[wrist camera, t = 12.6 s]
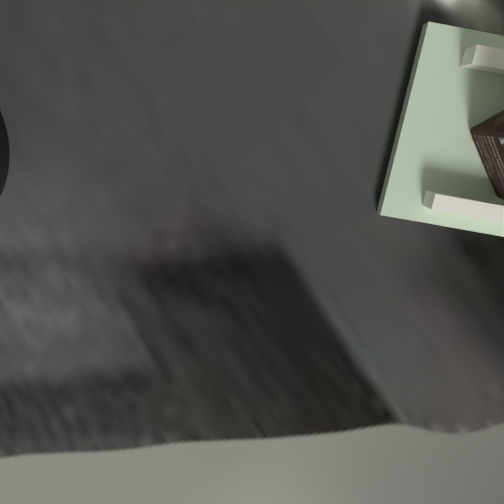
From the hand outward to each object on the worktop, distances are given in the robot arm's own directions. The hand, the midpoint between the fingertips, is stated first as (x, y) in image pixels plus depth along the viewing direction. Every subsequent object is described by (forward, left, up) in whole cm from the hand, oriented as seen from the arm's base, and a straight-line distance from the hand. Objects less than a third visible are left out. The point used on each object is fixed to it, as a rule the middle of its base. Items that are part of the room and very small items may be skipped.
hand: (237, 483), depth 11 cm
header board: (+18, +10, -29) cm, 35 cm away
